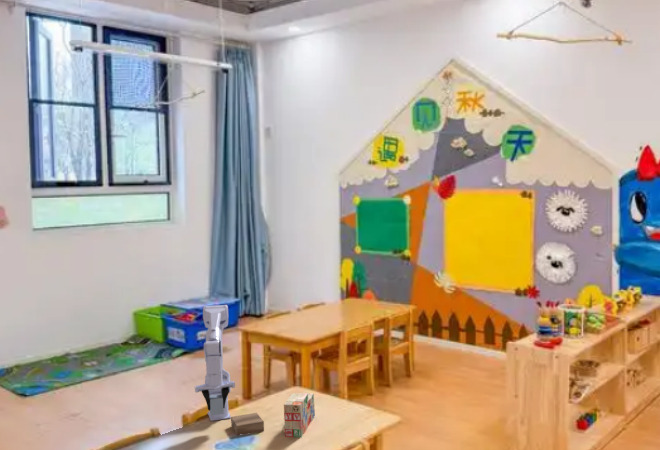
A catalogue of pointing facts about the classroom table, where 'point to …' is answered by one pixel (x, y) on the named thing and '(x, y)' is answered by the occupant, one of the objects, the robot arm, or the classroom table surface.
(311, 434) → the classroom table surface
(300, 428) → the stack of blocks
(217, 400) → the grey block
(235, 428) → the walnut base
